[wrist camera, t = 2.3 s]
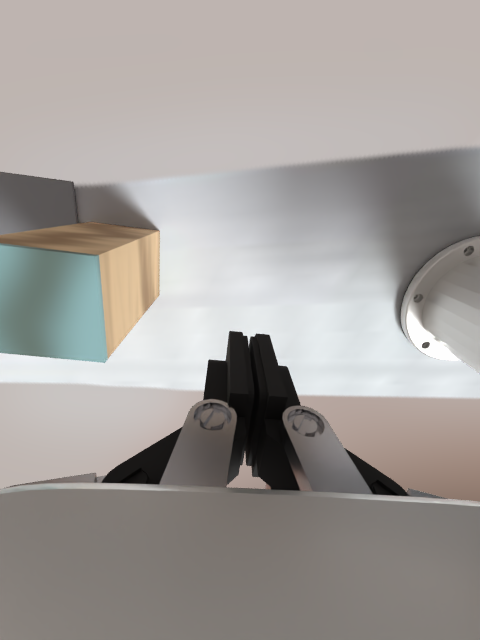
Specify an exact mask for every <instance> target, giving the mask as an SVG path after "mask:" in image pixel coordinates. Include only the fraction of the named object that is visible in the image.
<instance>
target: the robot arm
mask: <svg viewBox="0 0 480 640" xmlns="http://www.w3.org/2000/svg"><path fill="white" fill-rule="evenodd" d="M401 324H402V329H403V331H404V333H405V335H406V338H407V339H408V340H409V341H410V343H411V344H412V345H413V346H414V347H416V348H417V349H418V350H419V351H421V352H422V353H424V354H426V355H428V356H430V357H433V358H436V359H441V360H461V361H462V362H463V363H465V364H466V365H468V366H469V367H470V368H472V369H473V370H475V371H476V372H477V373H479V374H480V236H477V237H473V238H469V239H465V240H462V241H460V242H457V243H455V244H453V245H451V246H449V247H447V248H446V249H444V250H442V251H441V252H439V253H438V254H436V255H435V256H434V257H433V258H432V259H430V260H429V261H428V262H427V263H426V264H425V265H424V266H423V267H422V268H421V269H420V271H419V272H418V273H417V274H416V275H415V277H414V279H413V280H412V282H411V283H410V285H409V286H408V289H407V291H406V293H405V296H404V298H403V303H402V307H401ZM244 453H246V465H247V466H252V476H253V477H260V478H261V479H262V480H263V481H265V482H266V487H265V489H249V488H227V487H226V485H227V484H229V483H230V482H231V481H232V480H233V479H234V478H235V477H236V476H237V475H238V474H239V468H240V465H242V463H243V458H244ZM0 640H480V502H476V501H466V500H453V499H447V498H443V497H439V496H436V495H432V494H428V493H424V492H420V491H417V490H413V489H408V490H407V492H405V490H404V489H403V488H402V487H400V486H399V485H398V484H397V483H396V482H394V481H393V480H392V479H390V478H389V477H387V476H386V475H384V474H383V473H381V472H380V471H378V470H377V469H375V468H374V467H372V466H371V465H369V464H367V463H366V462H365V461H363V460H362V459H360V458H359V457H357V456H356V455H354V454H353V453H351V452H350V451H348V450H347V449H345V448H344V447H343V445H342V444H341V442H340V441H339V439H338V437H337V436H336V434H335V433H334V432H333V429H332V428H331V426H330V425H329V423H328V422H327V420H326V419H325V418H324V417H323V416H322V415H321V414H320V413H318V412H317V411H315V410H313V409H311V408H308V407H305V406H301V405H300V402H299V399H298V396H297V393H296V390H295V387H294V385H293V382H292V379H291V376H290V373H289V370H288V368H287V367H286V366H278V363H277V359H276V356H275V353H274V349H273V346H272V342H271V339H270V336H269V335H265V334H256V335H255V337H251V338H250V343H249V346H248V338H247V336H243V333H242V332H234V331H230V332H229V339H228V347H227V355H226V361H219V360H209V361H208V368H207V376H206V383H205V391H204V399H203V401H200V402H198V403H196V404H195V405H194V406H192V408H191V409H190V411H189V413H188V415H187V418H186V420H185V423H184V425H183V427H181V428H180V429H178V430H176V431H175V432H173V433H171V434H170V435H168V436H166V437H165V438H163V439H161V440H160V441H158V442H157V443H155V444H153V445H151V446H150V447H148V448H147V449H145V450H143V451H142V452H140V453H138V454H137V455H135V456H133V457H132V458H130V459H128V460H127V461H125V462H123V463H122V464H120V465H118V466H117V467H115V468H114V469H113V470H112V471H110V472H109V473H108V474H107V475H106V476H101V477H96V473H90V474H84V475H78V476H71V477H64V478H58V479H51V480H46V481H38V482H32V483H26V484H20V485H14V486H10V487H6V488H3V489H0Z"/></svg>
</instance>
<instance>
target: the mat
mask: <svg viewBox="0 0 480 640" xmlns="http://www.w3.org/2000/svg"><path fill="white" fill-rule="evenodd" d="M72 224H78V219H77V210H76V201H75V192H74V183H73V182H71V181H63V180H56V179H48V178H41V177H34V176H27V175H19V174H12V173H4V172H0V235H4V234H11V233H17V232H24V231H31V230H38V229H45V228H51V227H58V226H65V225H72Z"/></svg>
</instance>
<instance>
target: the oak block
mask: <svg viewBox="0 0 480 640" xmlns="http://www.w3.org/2000/svg"><path fill="white" fill-rule="evenodd" d="M159 248H160V231H158V230H150V229H142V228H134V227H126V226H118V225H110V224H103V223H95V222H86V223H79V224H72V225H65V226H58V227H51V228H45V229H38V230H31V231H24V232H17V233H11V234H4V235H0V353H8V354H18V355H29V356H39V357H50V358H61V359H71V360H82V361H92V362H103V363H105V362H106V360H107V359H108V358H109V357H110V355H111V354H112V353H113V352H114V351H115V349H116V348H117V347H118V346H119V344H120V343H121V342H122V341H123V339H124V338H125V337H126V336H127V334H128V333H129V332H130V331H131V329H132V328H133V327H134V326H135V324H136V323H137V322H138V321H139V319H140V318H141V317H142V316H143V314H144V313H145V312H146V311H147V310H148V308H149V307H150V306H151V305H152V303H153V302H154V301H155V300H156V298H157V297H158V296H159Z"/></svg>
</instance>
